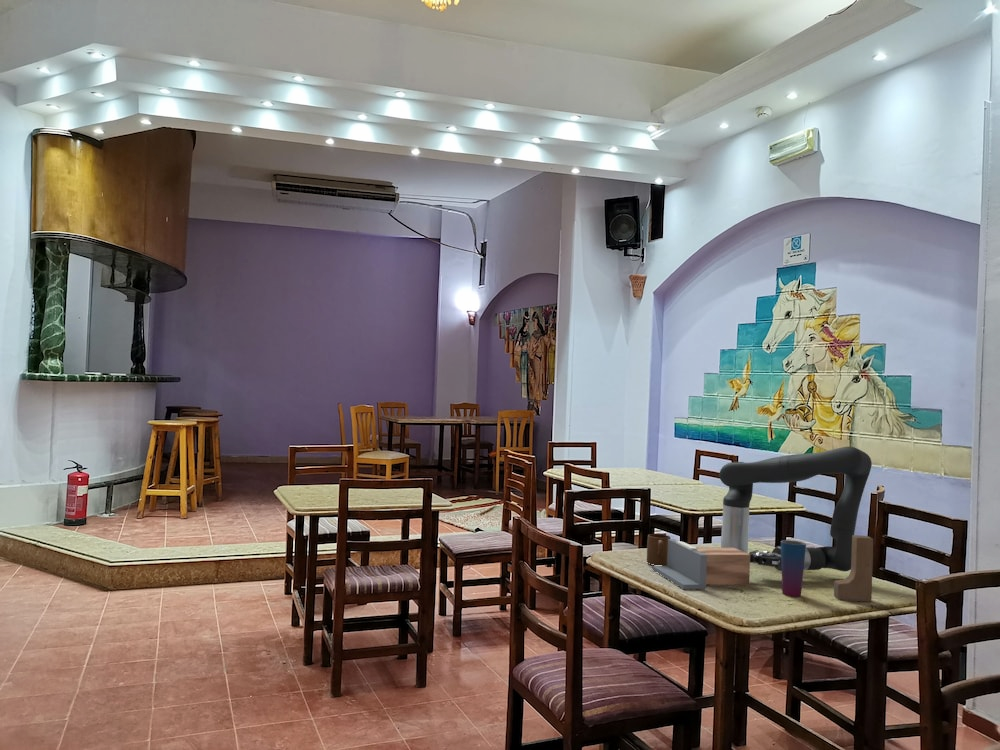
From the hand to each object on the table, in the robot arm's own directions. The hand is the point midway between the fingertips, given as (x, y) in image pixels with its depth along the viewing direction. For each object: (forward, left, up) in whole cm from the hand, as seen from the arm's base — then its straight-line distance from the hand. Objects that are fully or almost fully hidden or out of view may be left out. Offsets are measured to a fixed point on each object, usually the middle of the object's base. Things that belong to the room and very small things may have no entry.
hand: (740, 558), depth 225 cm
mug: (-18, -19, -7) cm, 27 cm away
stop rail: (0, -21, -7) cm, 22 cm away
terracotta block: (0, -8, -7) cm, 10 cm away
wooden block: (+22, +23, -7) cm, 32 cm away
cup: (+17, +7, -7) cm, 19 cm away
